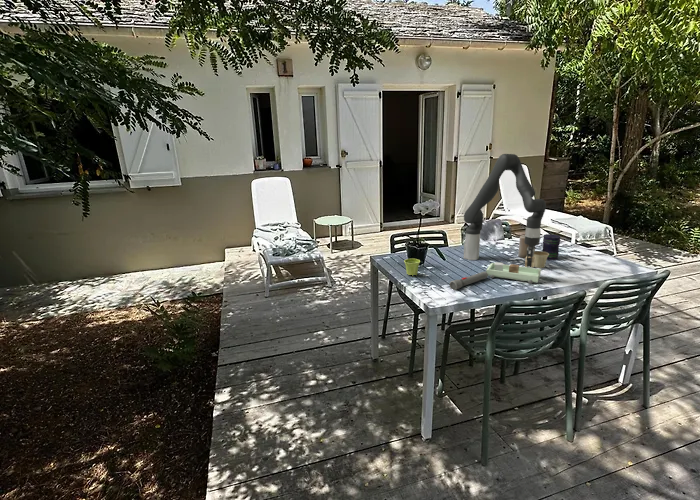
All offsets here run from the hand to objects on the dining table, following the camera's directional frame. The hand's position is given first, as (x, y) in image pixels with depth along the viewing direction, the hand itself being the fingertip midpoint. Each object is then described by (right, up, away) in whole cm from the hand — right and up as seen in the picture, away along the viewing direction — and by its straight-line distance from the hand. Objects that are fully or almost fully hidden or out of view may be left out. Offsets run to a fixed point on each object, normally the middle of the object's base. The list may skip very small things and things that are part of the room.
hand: (529, 265), depth 215 cm
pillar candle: (+17, +4, +43) cm, 46 cm away
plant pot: (-63, -7, +15) cm, 65 cm away
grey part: (-14, -4, +10) cm, 17 cm away
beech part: (0, 0, 0) cm, 0 cm away
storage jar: (+31, +3, +38) cm, 49 cm away
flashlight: (-34, -11, -2) cm, 36 cm away
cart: (-7, -7, +6) cm, 11 cm away
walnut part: (-7, -5, +6) cm, 10 cm away
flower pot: (+16, -2, +22) cm, 27 cm away
